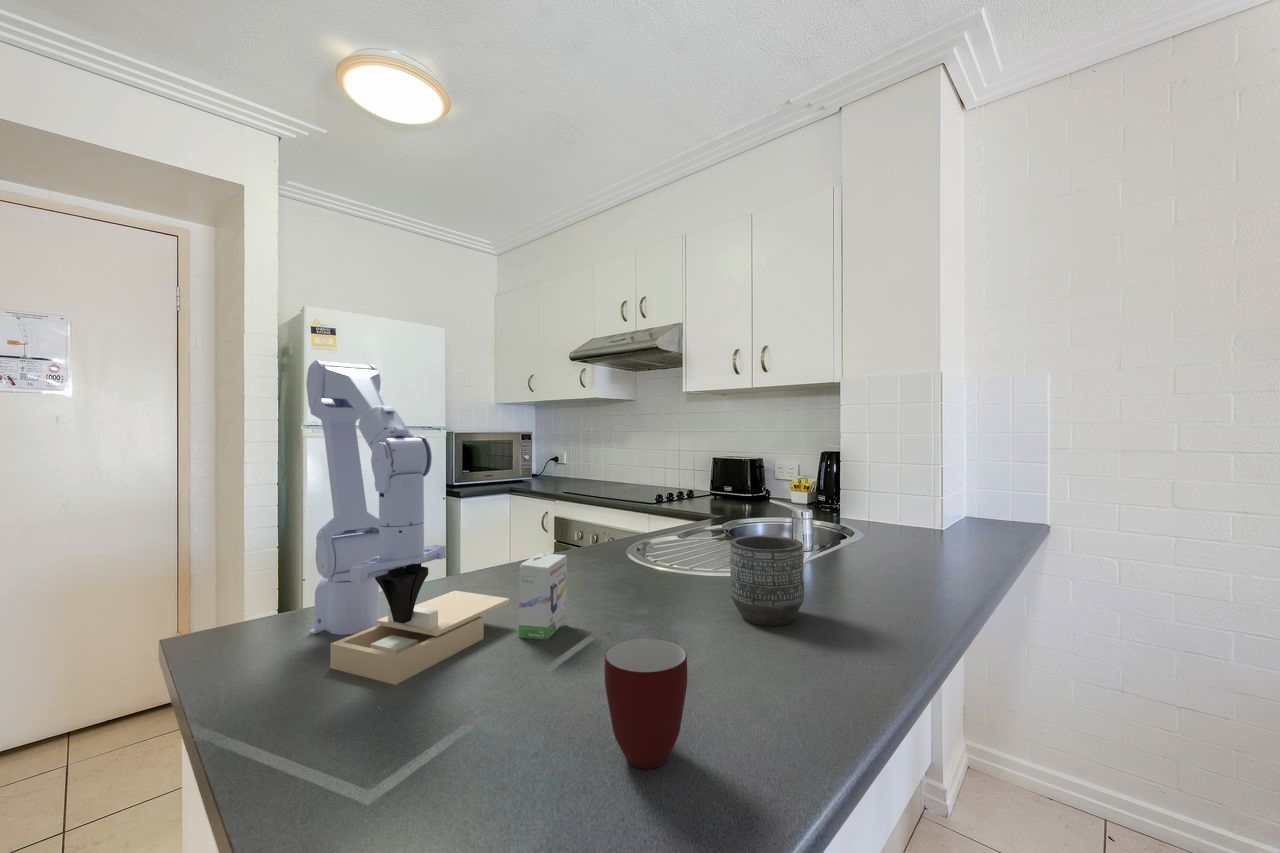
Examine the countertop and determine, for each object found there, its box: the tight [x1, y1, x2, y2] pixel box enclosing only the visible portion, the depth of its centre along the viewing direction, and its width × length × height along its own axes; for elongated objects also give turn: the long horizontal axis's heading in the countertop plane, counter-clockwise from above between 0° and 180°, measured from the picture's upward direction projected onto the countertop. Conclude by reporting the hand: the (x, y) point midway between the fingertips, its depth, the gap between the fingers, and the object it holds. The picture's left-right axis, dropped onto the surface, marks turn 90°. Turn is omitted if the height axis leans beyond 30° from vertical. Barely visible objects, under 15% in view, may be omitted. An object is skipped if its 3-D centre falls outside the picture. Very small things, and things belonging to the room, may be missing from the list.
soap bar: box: [370, 635, 418, 654], centre depth 73 cm, size 5×4×2 cm
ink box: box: [518, 552, 568, 640], centre depth 84 cm, size 9×5×12 cm, turn 168°
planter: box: [729, 535, 805, 627], centre depth 91 cm, size 12×12×13 cm
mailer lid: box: [376, 590, 510, 636], centre depth 82 cm, size 12×16×3 cm
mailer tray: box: [329, 616, 485, 686], centre depth 76 cm, size 12×16×4 cm
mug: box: [604, 638, 688, 770], centre depth 53 cm, size 10×8×10 cm
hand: (402, 621), depth 74 cm, fingers closed
